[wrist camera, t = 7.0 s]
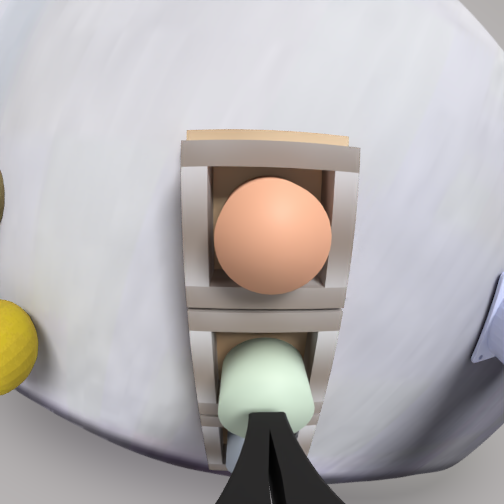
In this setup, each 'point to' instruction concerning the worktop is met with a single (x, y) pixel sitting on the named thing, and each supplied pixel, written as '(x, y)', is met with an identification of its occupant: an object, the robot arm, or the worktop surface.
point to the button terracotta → (272, 235)
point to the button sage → (264, 384)
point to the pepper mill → (1, 196)
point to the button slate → (233, 450)
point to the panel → (248, 302)
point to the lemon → (15, 346)
